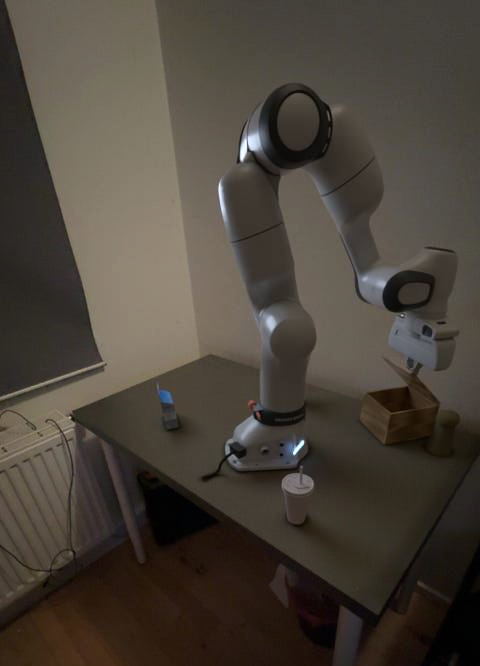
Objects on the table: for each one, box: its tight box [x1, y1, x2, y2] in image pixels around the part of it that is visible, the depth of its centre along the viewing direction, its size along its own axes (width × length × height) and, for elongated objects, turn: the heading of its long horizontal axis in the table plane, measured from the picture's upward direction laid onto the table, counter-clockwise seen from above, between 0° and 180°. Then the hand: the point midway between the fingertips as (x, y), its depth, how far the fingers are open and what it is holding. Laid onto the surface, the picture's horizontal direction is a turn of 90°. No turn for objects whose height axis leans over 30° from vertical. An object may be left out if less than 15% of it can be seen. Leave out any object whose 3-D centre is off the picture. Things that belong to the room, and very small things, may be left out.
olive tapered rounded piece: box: [425, 409, 461, 457], centre depth 88 cm, size 6×6×11 cm
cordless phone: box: [156, 382, 179, 431], centre depth 107 cm, size 9×4×12 cm, turn 16°
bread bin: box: [359, 385, 441, 446], centre depth 98 cm, size 14×13×10 cm
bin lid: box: [380, 353, 442, 406], centre depth 93 cm, size 15×13×1 cm
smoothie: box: [281, 465, 315, 525], centre depth 70 cm, size 6×6×14 cm
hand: (411, 374), depth 92 cm, fingers closed, pressing on bin lid
